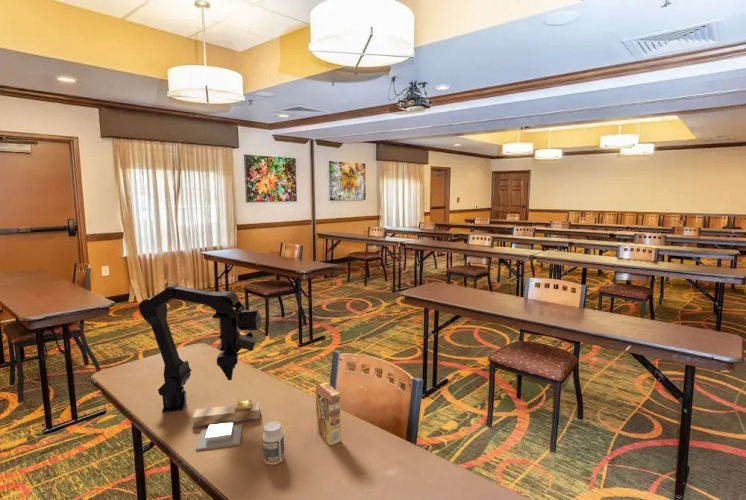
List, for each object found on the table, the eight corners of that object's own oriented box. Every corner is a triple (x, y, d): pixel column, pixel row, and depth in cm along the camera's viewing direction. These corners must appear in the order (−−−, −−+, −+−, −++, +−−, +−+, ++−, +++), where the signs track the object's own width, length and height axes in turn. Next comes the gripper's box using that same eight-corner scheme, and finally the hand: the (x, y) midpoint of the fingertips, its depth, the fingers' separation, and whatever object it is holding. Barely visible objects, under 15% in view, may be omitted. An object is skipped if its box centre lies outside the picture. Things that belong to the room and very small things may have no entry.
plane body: (192, 428, 129) (191, 418, 129) (195, 419, 135) (195, 409, 134) (259, 420, 134) (259, 410, 133) (260, 411, 139) (259, 401, 139)
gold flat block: (250, 409, 133) (234, 411, 132) (251, 402, 137) (236, 404, 136) (250, 406, 133) (234, 408, 132) (251, 399, 137) (235, 401, 136)
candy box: (342, 441, 122) (341, 393, 120) (329, 446, 120) (328, 397, 118) (328, 427, 129) (327, 381, 127) (316, 432, 127) (314, 385, 125)
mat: (195, 450, 118) (195, 448, 118) (202, 431, 128) (201, 429, 128) (239, 444, 121) (239, 442, 121) (242, 426, 131) (242, 424, 130)
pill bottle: (273, 450, 118) (272, 418, 117) (288, 456, 115) (287, 423, 114) (259, 461, 113) (257, 428, 112) (274, 468, 110) (272, 434, 109)
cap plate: (206, 443, 120) (205, 437, 120) (209, 431, 127) (209, 425, 126) (231, 440, 122) (230, 434, 122) (233, 428, 128) (233, 422, 128)
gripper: (252, 337, 131) (254, 383, 133) (255, 319, 149) (257, 360, 151) (215, 340, 129) (218, 387, 131) (223, 322, 147) (225, 363, 149)
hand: (231, 374), depth 140 cm, fingers open, 9 cm apart
